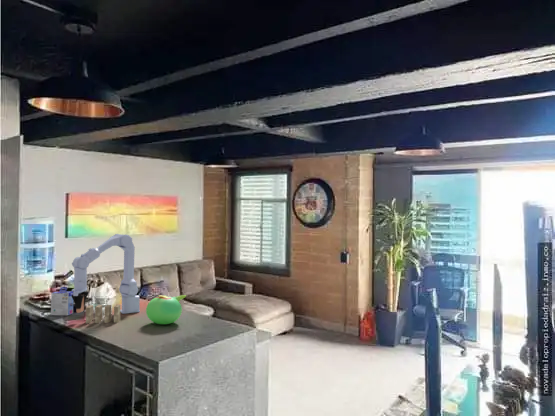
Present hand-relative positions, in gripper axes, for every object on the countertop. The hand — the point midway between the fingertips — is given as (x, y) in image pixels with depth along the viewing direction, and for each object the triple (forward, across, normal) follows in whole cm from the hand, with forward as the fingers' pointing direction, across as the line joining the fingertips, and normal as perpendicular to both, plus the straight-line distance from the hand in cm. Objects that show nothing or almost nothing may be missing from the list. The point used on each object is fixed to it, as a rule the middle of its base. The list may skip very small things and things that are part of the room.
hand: (80, 307), depth 211 cm
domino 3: (+8, 0, +9) cm, 12 cm away
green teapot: (+8, +7, +43) cm, 44 cm away
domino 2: (+8, 0, +4) cm, 9 cm away
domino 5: (+8, 0, +18) cm, 20 cm away
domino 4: (+8, 0, +14) cm, 15 cm away
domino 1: (+2, 0, 0) cm, 2 cm away
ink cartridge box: (+8, -18, -15) cm, 25 cm away
